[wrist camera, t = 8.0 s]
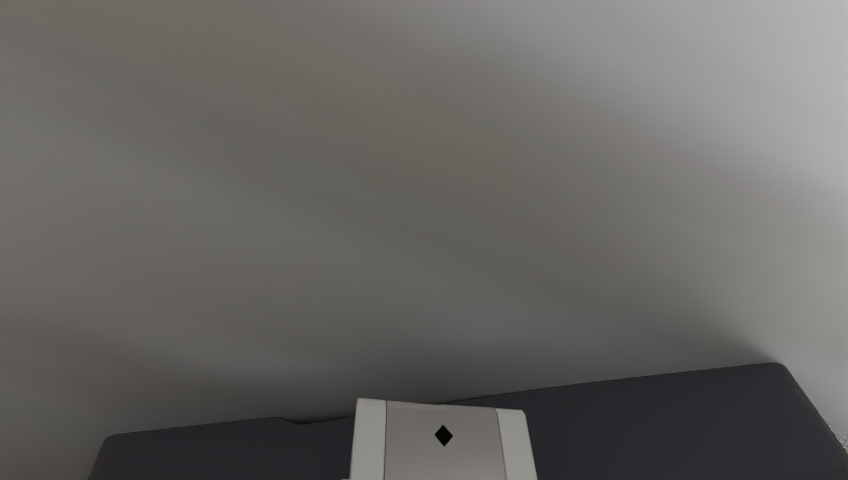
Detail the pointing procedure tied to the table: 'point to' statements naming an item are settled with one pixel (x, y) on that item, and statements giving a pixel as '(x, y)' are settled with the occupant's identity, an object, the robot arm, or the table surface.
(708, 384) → the calculator
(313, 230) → the table surface
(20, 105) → the table surface
